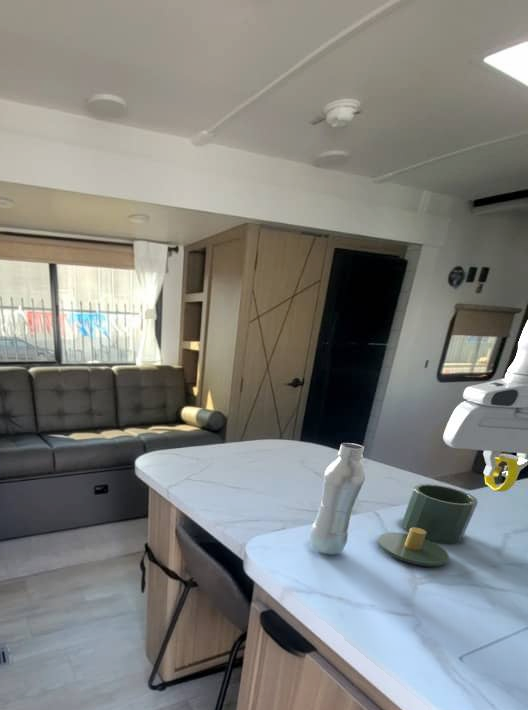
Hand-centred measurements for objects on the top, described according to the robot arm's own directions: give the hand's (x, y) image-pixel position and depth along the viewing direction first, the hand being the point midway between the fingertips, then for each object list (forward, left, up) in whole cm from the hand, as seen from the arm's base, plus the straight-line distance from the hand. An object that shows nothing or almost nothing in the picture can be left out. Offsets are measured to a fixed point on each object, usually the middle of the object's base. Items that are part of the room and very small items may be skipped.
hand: (499, 476), depth 70 cm
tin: (+2, -9, -16) cm, 18 cm away
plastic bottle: (+26, +5, -16) cm, 31 cm away
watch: (0, 0, -2) cm, 2 cm away
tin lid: (+10, +2, -15) cm, 18 cm away
